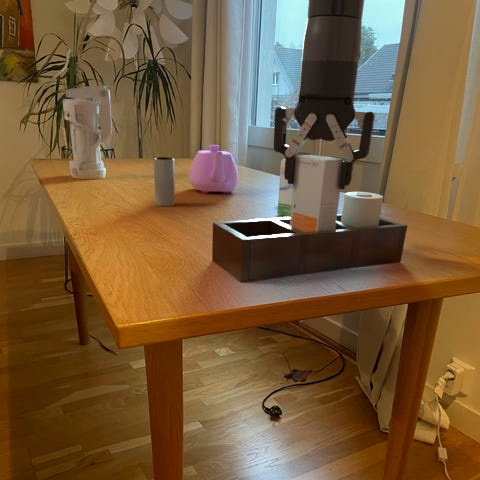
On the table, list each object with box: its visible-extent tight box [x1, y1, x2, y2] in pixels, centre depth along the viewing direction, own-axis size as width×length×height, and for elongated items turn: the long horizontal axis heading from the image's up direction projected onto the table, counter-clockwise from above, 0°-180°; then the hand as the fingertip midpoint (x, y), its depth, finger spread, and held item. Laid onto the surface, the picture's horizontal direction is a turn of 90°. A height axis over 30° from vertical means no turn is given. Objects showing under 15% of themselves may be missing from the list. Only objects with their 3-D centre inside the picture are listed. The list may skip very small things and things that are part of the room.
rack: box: [211, 213, 408, 283], centre depth 74 cm, size 29×10×6 cm, turn 116°
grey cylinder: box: [153, 156, 176, 207], centre depth 109 cm, size 4×4×10 cm
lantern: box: [62, 85, 113, 180], centre depth 139 cm, size 13×10×25 cm
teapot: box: [188, 144, 239, 194], centre depth 127 cm, size 20×13×12 cm, turn 11°
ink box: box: [276, 158, 293, 217], centre depth 105 cm, size 8×5×12 cm, turn 139°
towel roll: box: [341, 191, 384, 228], centre depth 77 cm, size 6×6×10 cm
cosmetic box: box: [290, 154, 344, 232], centre depth 71 cm, size 6×4×12 cm
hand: (316, 185), depth 70 cm, fingers closed on cosmetic box, 7 cm apart
